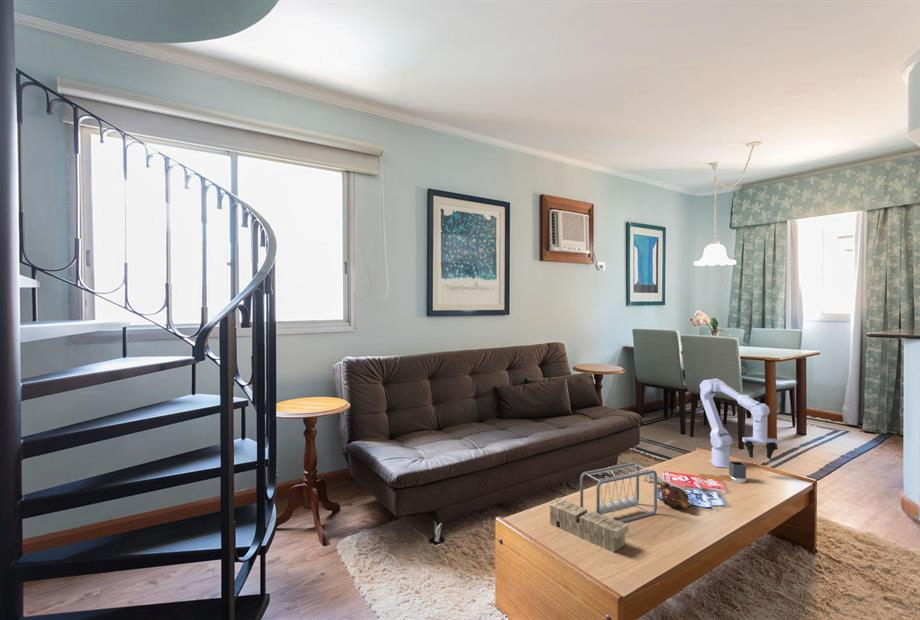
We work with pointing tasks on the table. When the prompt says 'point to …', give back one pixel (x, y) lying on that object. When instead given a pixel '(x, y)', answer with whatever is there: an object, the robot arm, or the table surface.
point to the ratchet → (722, 477)
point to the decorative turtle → (674, 496)
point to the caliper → (659, 480)
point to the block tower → (588, 525)
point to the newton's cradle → (625, 502)
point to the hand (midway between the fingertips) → (759, 457)
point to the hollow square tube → (737, 469)
